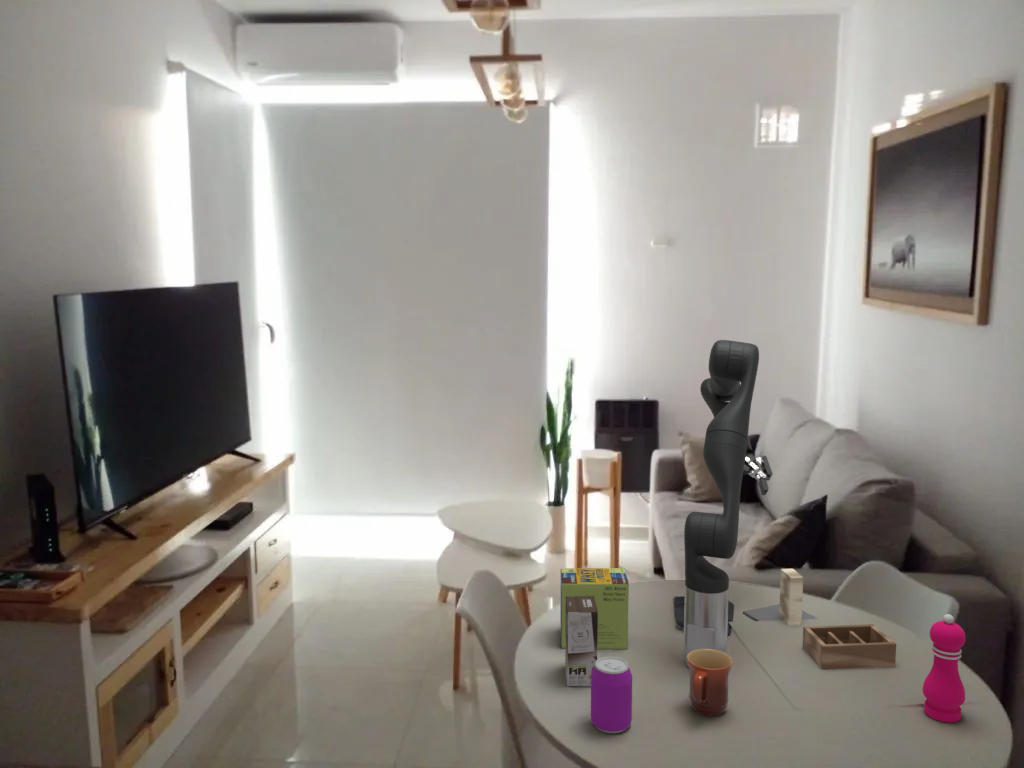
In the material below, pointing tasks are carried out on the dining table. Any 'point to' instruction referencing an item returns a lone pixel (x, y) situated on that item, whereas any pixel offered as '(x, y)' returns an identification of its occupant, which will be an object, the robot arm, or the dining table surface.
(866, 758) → the dining table surface
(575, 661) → the coffee box
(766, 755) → the dining table surface
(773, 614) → the rubber mat
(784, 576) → the ash block
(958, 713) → the pepper mill
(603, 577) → the protein box
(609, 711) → the beverage can
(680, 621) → the dark slate chunk
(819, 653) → the walnut box
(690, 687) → the mug
